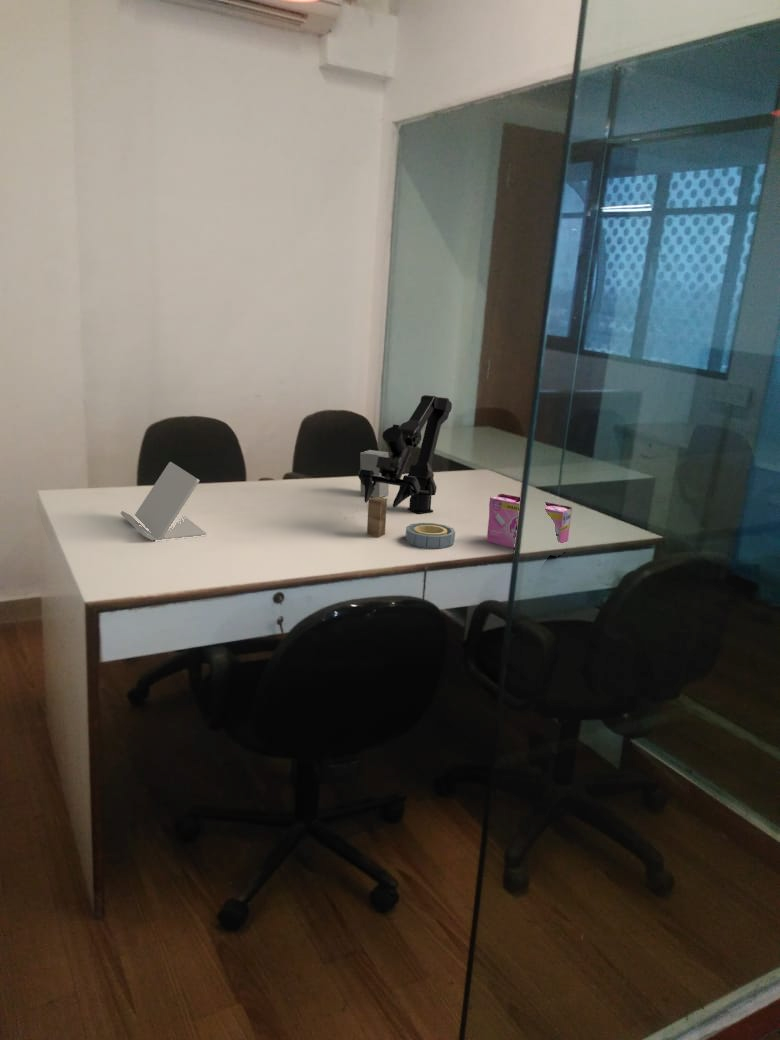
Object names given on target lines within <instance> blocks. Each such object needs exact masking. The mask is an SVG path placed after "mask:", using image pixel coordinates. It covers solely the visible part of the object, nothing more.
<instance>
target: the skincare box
mask: <svg viewBox="0 0 780 1040" xmlns="http://www.w3.org/2000/svg"><path fill="white" fill-rule="evenodd" d="M359 454H360V456H359V457H360V460H359V461H360V464H359V465H360V467H359V468H360V470H361V469H368V470H373V472H374V474H375V475H379V476H381V475H382V474H381V473H380V472H379V468H378V467H376V464H377V460H378V457H379V456H380V457H387V458H389V451H380V450H372V449H368V450H365V451H361V452H360V453H359ZM360 470H359V471H360ZM389 485H390V484H386V483H380V482H376V485H375V486H374V488H375V489H374V491H373V493H372V495H371V496H370V498H373V497H379V498H385V497H387V496H389V494H390V493H389V487H390V486H389ZM360 496H364V497H365V486H364V485H363V484H362V483H361V482H360Z"/></svg>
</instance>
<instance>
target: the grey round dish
mask: <svg viewBox="0 0 780 1040" xmlns="http://www.w3.org/2000/svg"><path fill="white" fill-rule="evenodd" d="M455 538H456V530H455V528H453V527H451V526H449V525H446V524H440V523H436V522H435V523H434V522H418V523H411V524H409V525H407V526H406V527H405V542H406V543H408V544H410V545H412V546H414V547H418V548H423V549H434V550H435V549H436V550H437V549H438V550H439V549H446V548H449V547H452V546H453V545H454V543H455V540H456V539H455Z"/></svg>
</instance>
